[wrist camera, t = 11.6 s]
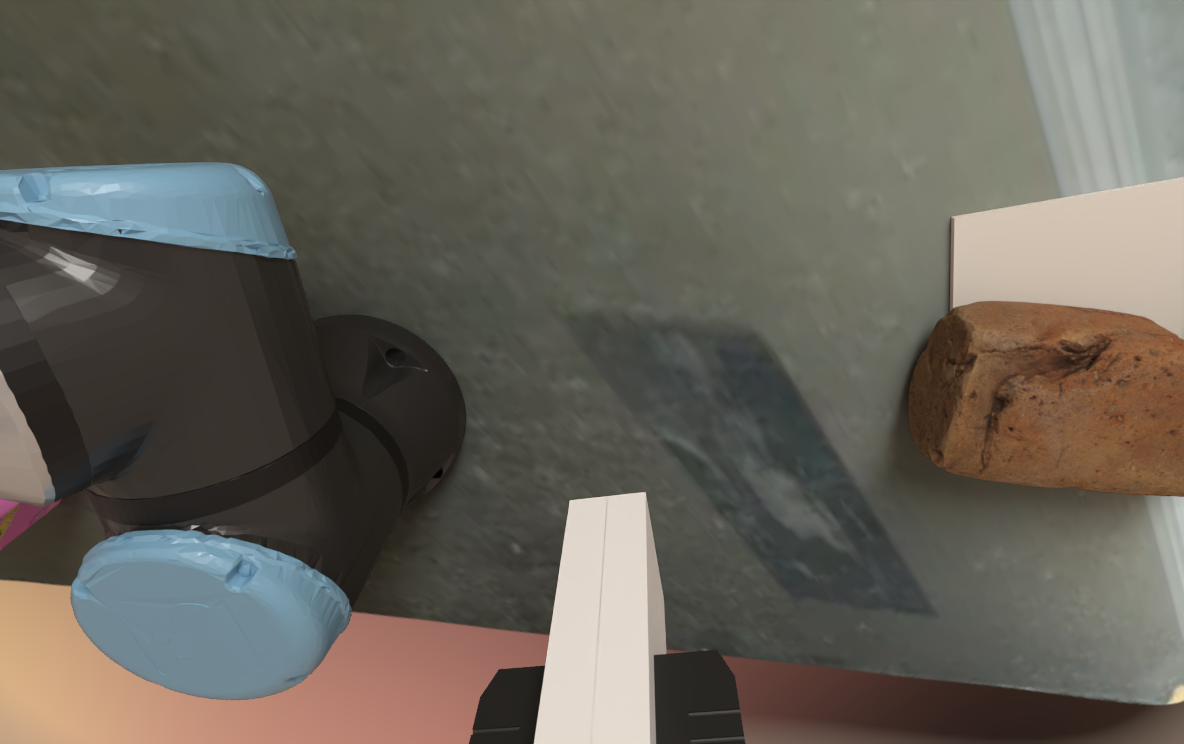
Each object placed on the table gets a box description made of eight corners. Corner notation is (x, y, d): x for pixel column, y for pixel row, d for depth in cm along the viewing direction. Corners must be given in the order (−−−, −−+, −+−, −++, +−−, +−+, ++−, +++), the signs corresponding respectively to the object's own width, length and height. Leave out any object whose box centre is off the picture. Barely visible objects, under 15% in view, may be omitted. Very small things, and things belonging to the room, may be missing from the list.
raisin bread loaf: (892, 428, 50) (1178, 458, 49) (930, 486, 43) (1262, 521, 42) (934, 284, 46) (1248, 314, 45) (983, 323, 39) (1355, 359, 38)
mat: (947, 433, 51) (954, 441, 50) (951, 216, 44) (958, 220, 43) (1189, 401, 48) (1200, 409, 47) (1230, 168, 42) (1244, 172, 41)
